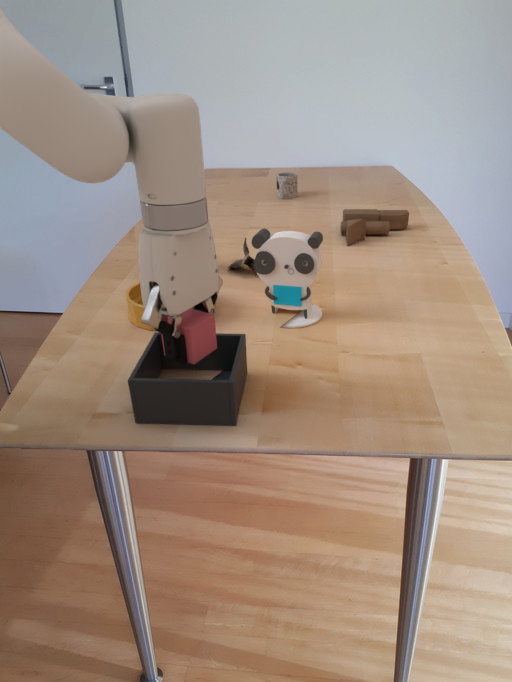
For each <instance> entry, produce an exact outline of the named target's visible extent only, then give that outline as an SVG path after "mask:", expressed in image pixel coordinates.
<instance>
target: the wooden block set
mask: <svg viewBox="0 0 512 682" xmlns="http://www.w3.org/2000/svg"><path fill="white" fill-rule="evenodd" d="M409 219H410V212H409V210H407V209H377V208H374V209H373V208H371V209H370V208H361V209H360V208H359V209H358V208H353V209H352V208H351V209H349V208H345V209H343V210H342V221H340V234H341V235H345V241H346V246H347V247H349V246H352V245H355V244H357V243H359V241H360V242H362V241H364V239H365V240H366V235H389V234H390V230H403V229H406V228H407V227H408V226H409ZM356 242H357V243H356ZM351 244H352V245H351ZM348 245H349V246H348Z"/></svg>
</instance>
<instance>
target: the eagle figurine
mask: <svg viewBox="0 0 512 682" xmlns="http://www.w3.org/2000/svg"><path fill="white" fill-rule="evenodd" d="M242 251H243V255H244V257H243V258H242V259H241V258H240V259H236V260H234V261H233V262H232V263H230V265H229V266H228V267H227V269H230V268H234V269H238V268H239V267H241V268H242V267H243V266H246V267H248V268H249V269H251V270H252V271H253V273H254V277H257V276H258V274H257V272H256V271H255V267H254V262H255V258H253V257H252V256H250V250H249V247H248V244H247V237H246V236H245V237H244V242H243V245H242Z"/></svg>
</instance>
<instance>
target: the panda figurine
mask: <svg viewBox="0 0 512 682" xmlns="http://www.w3.org/2000/svg"><path fill="white" fill-rule="evenodd" d="M323 241H324V235H323V233H322V232H320V231H314V232H313V233H311V234H310V235H309V234H307V233H305V232H300V231H296V230H283V231H277V232H275V233H273V234H272V235H271V232H270V230H268V229H267V228H261V229H260V230H259V231H258V232H257V233H256V234H255V235H253V236H252V238H251V246H252V247H253V248H254V249H256V250H258V251H257V253H256V255H255V258H254V259H255V262H254V267H255V271H256V272H257V276H258V278H259V279H260V280H261V282H263V283H264V284H265V285H266V287H265V288H264V294H265V296H266V297H267V298H268V299H270V306H271V307H270V308H271V314H276V313H277V312H278V310H279V309H282V310H288V311H299V312H298V313H296V314H295V315H293V316H292V317H290V319H288V320H287V321H286V322H284V323H283V324H282V325H281V326H279V328H281V329H299V328H306V327H309V326H312V325H315V324H316V323H318V322H319V321H320V320H321V319H322V317H323V310H322V309H321V308H320V307H319V306H318V305H316V304H314V303H313V302H312V284H313V283H314V281H315V279H316V278H317V276H318V275H319V273H320V271H321V268H322V264H323V263H322V262H323V257H322V253H321V248H320V246H321V244H322V243H323Z"/></svg>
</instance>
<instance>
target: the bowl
mask: <svg viewBox="0 0 512 682" xmlns="http://www.w3.org/2000/svg"><path fill="white" fill-rule="evenodd" d="M124 296H125V303H126V308H127V309H126V310H127V314H128V318H129V322H130V323H131V324H133V325H134V326H136V327H137V328H141V329H144V330H147V331H154V332H155V331H156V330H155V329H153V328H152V327H149V326H147V325H144V324H142V322H141V318H142V315H143V312H144V309H145V308H144V306H143V302H142V295H141V287H140V281H138V282H136V283H134V284H133V285H131V286H130V287H128V288H127V290H126V292H125V293H124ZM190 309H193V308H190ZM214 309H215V310H216V304H215V305H214ZM158 315H159V314H158ZM156 332H157V331H156Z"/></svg>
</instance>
